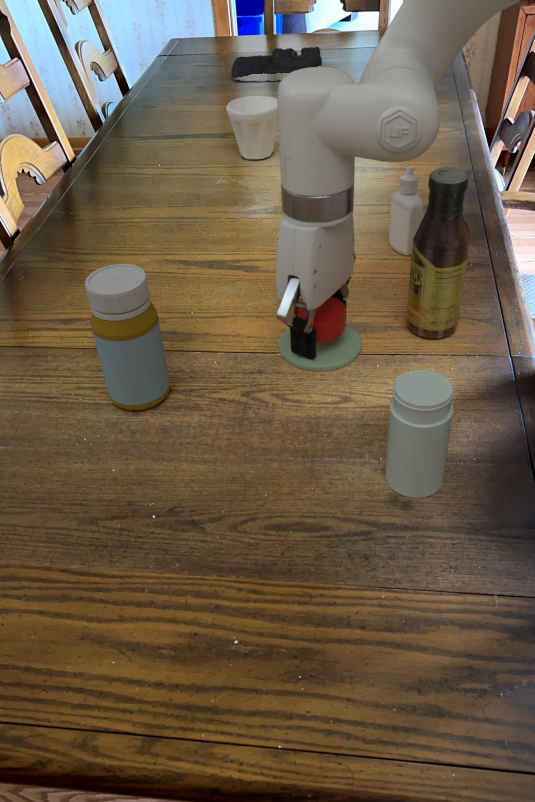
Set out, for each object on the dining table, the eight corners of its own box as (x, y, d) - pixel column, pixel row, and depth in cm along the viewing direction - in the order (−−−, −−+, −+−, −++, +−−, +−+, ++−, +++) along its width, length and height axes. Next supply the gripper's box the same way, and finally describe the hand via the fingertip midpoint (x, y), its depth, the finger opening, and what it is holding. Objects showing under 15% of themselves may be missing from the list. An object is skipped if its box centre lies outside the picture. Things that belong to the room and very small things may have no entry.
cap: (355, 321, 85) (355, 304, 84) (327, 348, 81) (327, 330, 80) (310, 306, 88) (310, 289, 87) (281, 332, 84) (280, 314, 83)
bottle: (173, 408, 79) (151, 291, 70) (109, 418, 79) (79, 301, 69) (169, 371, 85) (148, 257, 75) (110, 379, 84) (81, 266, 74)
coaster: (376, 337, 87) (376, 333, 87) (335, 381, 81) (335, 377, 81) (306, 315, 92) (306, 311, 92) (262, 355, 86) (262, 351, 86)
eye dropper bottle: (389, 257, 102) (393, 175, 95) (388, 238, 106) (392, 159, 99) (420, 257, 102) (427, 175, 94) (418, 238, 106) (424, 159, 98)
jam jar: (452, 469, 70) (466, 379, 63) (428, 506, 66) (440, 415, 59) (400, 449, 72) (408, 360, 65) (374, 483, 69) (379, 394, 62)
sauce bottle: (407, 312, 91) (419, 159, 78) (457, 315, 90) (478, 160, 77) (404, 341, 86) (416, 183, 74) (457, 345, 85) (479, 185, 72)
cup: (242, 169, 130) (238, 117, 124) (222, 151, 137) (217, 101, 131) (292, 157, 133) (290, 106, 127) (270, 141, 140) (267, 91, 134)
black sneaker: (235, 65, 182) (233, 45, 179) (321, 61, 180) (321, 40, 177) (229, 83, 170) (227, 62, 167) (322, 79, 168) (321, 57, 165)
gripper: (328, 163, 82) (328, 298, 93) (240, 224, 71) (252, 368, 82) (388, 175, 78) (380, 314, 90) (304, 241, 67) (307, 389, 79)
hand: (318, 338), depth 86 cm, fingers closed on cap, 6 cm apart
